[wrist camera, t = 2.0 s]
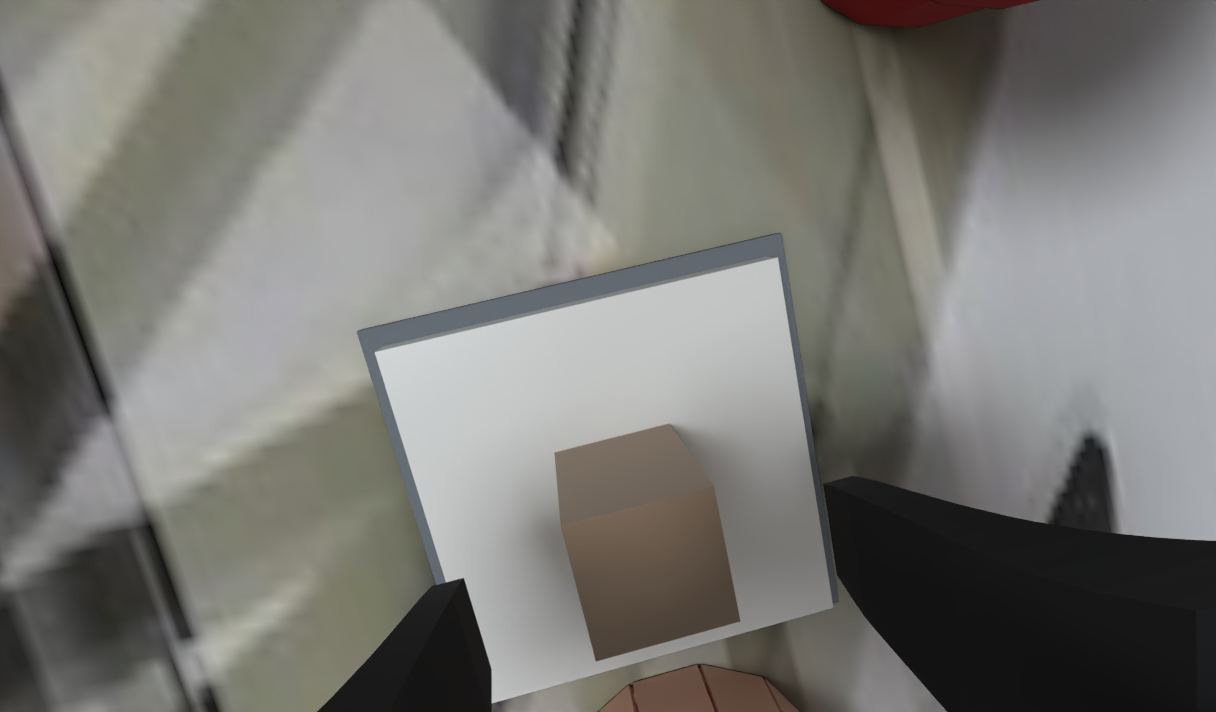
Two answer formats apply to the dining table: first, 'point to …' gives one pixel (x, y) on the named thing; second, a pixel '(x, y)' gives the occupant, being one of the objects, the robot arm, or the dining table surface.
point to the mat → (565, 294)
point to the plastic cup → (913, 10)
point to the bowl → (700, 693)
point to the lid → (616, 472)
